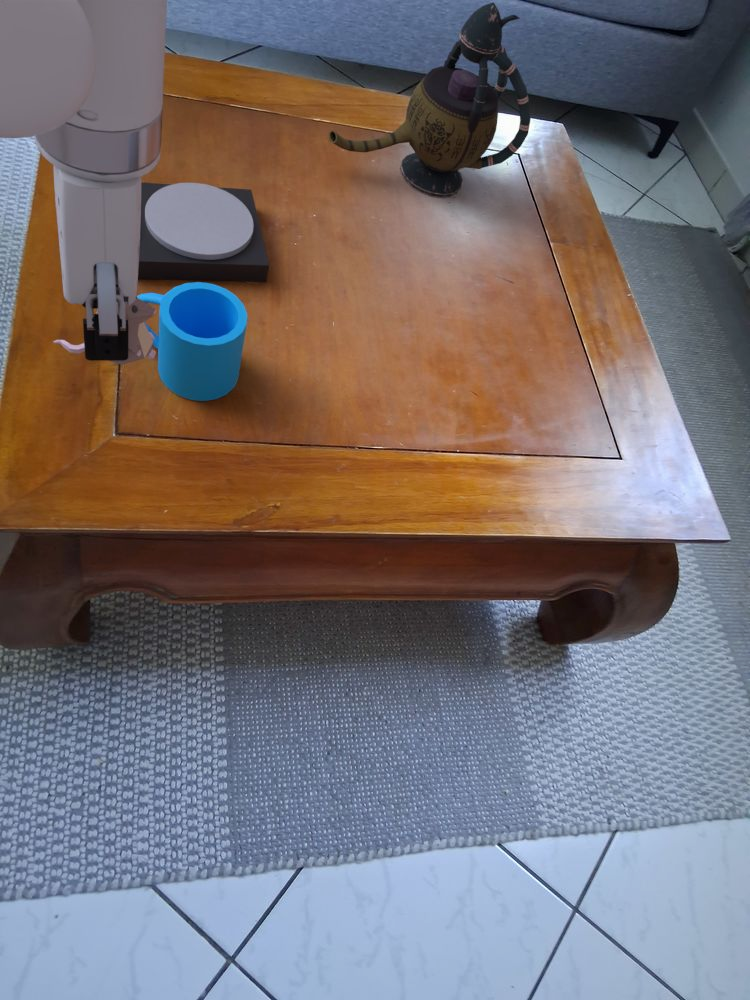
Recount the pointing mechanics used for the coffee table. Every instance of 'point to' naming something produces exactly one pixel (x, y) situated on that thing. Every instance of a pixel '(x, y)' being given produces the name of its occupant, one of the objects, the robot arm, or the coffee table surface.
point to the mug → (199, 339)
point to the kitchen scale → (200, 234)
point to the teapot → (456, 112)
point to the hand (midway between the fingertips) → (104, 329)
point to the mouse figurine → (130, 333)
